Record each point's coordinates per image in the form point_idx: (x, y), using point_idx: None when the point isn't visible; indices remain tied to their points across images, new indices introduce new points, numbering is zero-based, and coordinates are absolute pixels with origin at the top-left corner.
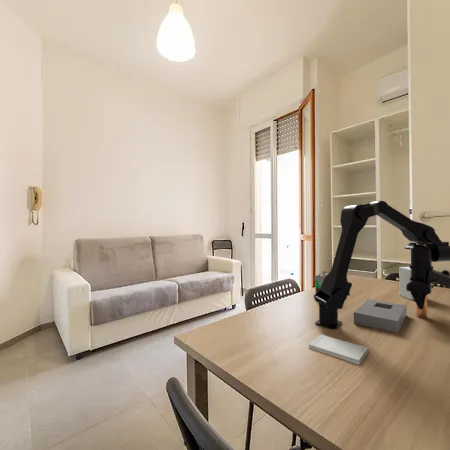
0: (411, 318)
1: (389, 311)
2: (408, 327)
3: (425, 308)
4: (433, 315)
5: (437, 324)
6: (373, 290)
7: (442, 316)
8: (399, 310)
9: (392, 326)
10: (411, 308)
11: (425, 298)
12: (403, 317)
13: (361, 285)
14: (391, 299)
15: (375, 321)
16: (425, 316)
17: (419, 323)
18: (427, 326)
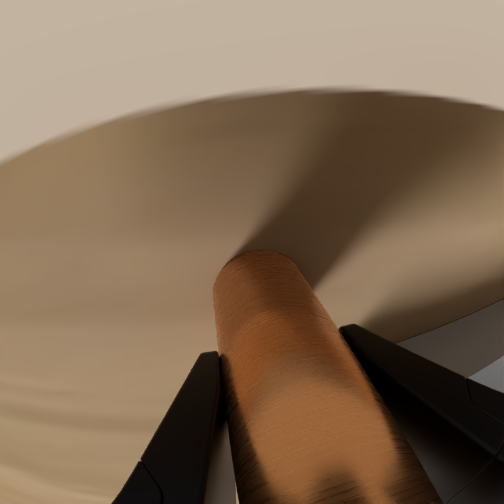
0: (360, 326)
1: (497, 389)
2: (499, 275)
3: (324, 314)
4: (119, 226)
5: (392, 146)
6: (17, 486)
7: (83, 154)
8: (479, 382)
9: None
10: (86, 388)
11: (393, 432)
12: (456, 341)
13: (14, 499)
14: (42, 458)
15: None
16: (294, 265)
17: (435, 255)
18: (462, 203)
